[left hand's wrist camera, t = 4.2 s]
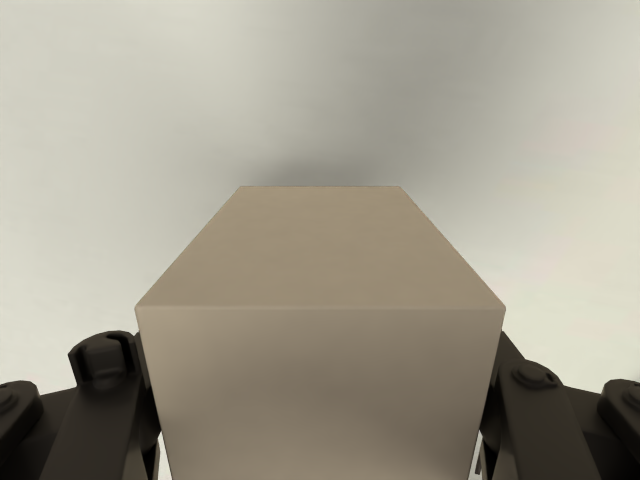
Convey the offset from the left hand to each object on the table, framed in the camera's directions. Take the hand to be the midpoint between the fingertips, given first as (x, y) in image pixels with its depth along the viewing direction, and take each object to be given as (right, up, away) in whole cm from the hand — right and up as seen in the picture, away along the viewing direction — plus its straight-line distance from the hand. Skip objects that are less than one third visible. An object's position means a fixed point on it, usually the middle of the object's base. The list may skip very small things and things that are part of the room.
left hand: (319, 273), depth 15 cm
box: (0, -6, +3) cm, 7 cm away
